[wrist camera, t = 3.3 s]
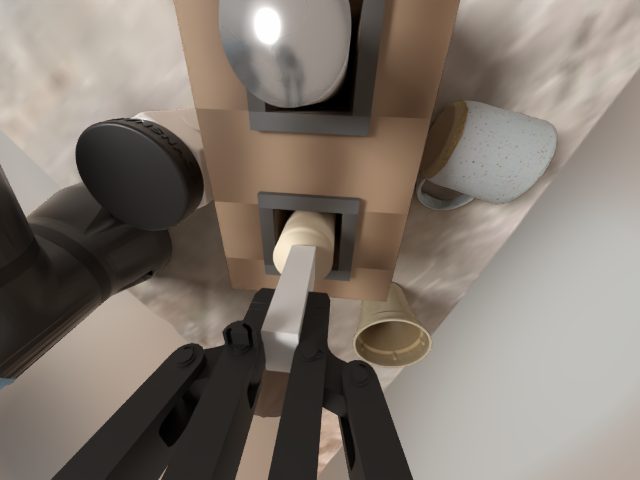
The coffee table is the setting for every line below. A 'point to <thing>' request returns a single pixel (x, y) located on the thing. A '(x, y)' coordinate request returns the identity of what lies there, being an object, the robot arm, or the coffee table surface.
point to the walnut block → (321, 144)
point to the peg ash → (308, 239)
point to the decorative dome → (272, 393)
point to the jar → (146, 167)
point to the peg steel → (287, 48)
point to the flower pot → (390, 332)
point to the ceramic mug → (484, 154)
